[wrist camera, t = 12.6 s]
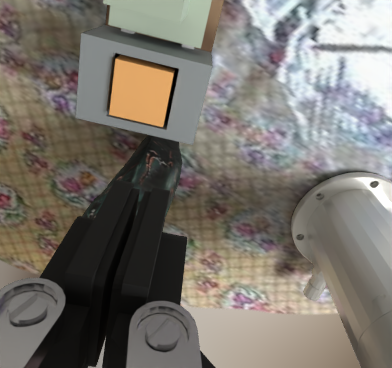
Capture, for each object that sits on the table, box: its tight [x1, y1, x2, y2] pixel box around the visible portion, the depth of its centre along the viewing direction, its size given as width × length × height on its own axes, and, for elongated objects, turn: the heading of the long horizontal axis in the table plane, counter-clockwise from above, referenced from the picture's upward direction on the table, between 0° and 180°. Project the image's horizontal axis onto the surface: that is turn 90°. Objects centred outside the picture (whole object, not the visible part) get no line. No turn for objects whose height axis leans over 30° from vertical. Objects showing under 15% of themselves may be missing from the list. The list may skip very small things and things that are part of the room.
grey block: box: [76, 25, 212, 145], centre depth 27 cm, size 6×9×6 cm, turn 77°
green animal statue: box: [82, 135, 182, 219], centre depth 29 cm, size 20×6×20 cm, turn 147°
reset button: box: [109, 54, 177, 127], centre depth 26 cm, size 4×4×5 cm
